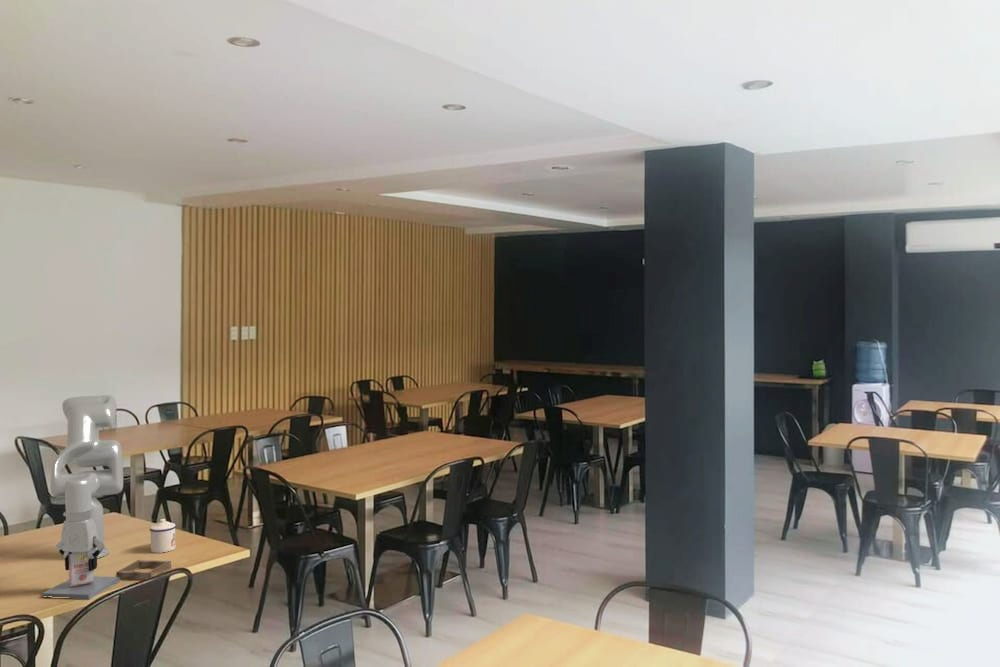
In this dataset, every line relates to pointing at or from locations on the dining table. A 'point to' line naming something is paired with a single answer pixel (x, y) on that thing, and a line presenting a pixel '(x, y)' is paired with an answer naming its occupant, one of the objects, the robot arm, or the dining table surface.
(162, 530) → the teacup with lid
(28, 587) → the dining table surface
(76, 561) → the white red printed box
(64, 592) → the grey tile
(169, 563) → the tray
